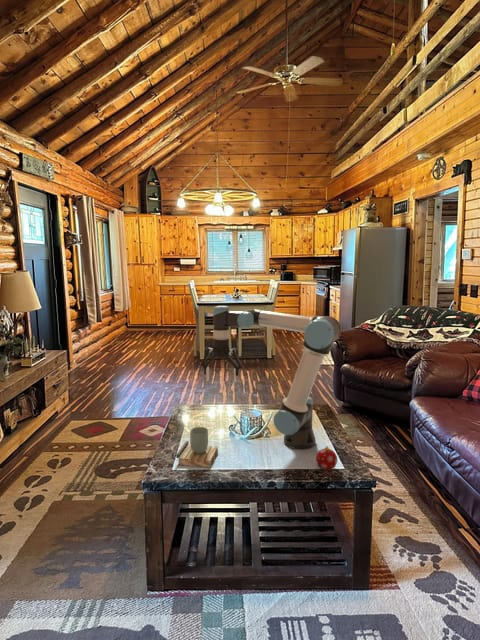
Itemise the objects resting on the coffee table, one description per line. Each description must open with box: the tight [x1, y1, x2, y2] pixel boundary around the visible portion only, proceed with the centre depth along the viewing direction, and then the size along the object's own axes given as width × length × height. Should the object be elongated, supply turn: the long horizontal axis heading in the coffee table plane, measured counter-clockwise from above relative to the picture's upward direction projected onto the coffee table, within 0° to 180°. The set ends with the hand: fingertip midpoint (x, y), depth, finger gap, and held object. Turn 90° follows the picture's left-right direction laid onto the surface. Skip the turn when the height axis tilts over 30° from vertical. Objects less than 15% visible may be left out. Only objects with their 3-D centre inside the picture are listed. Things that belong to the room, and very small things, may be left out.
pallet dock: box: [175, 440, 219, 468], centre depth 180 cm, size 15×14×4 cm
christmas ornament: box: [315, 445, 338, 471], centre depth 171 cm, size 9×9×10 cm
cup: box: [189, 426, 209, 454], centre depth 180 cm, size 8×8×10 cm
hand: (221, 381), depth 198 cm, fingers open, 13 cm apart
